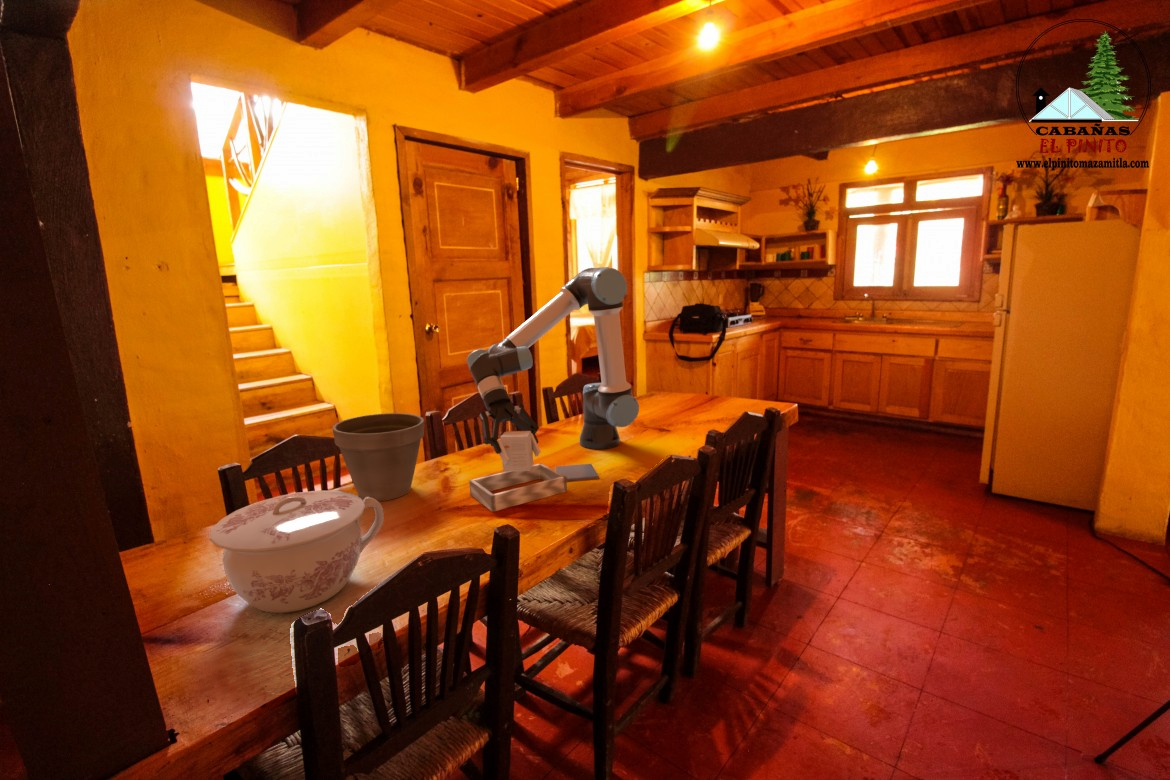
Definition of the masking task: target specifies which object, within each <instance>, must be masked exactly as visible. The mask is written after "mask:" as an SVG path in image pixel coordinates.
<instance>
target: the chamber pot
mask: <svg viewBox="0 0 1170 780" xmlns="http://www.w3.org/2000/svg"><path fill="white" fill-rule="evenodd" d="M367 508H373V511H374V515H375V516H374V521H373V523H372V525H371V526H370V528H369V530H368V531H367V532H366V533H365V534H364V535H363V536H362V532H361V531H362V530H361V527H360V524H361V516H363V514H364V512H365V509H367ZM384 518H385V513H384V508H383V505H382V504H381V503H380V501H377V500H375V499H374V498H371V497H365V498H364V499H362V498H360V497H359V495H355V494H353V493H351V492H346V491H340V490H311V491H302V492H301V491H300V492H293V493H288V494H283V495H277V496H274V497H271V498H266V499H264V500H260V501H257V502H256V501H255V502H254V503H252V504H251V503H250V505H249V504H248V505H245V506H244V507H241V508H239V509H236V510H235V511H232V512H231V513H229V514H228V515H226V516H224V517H222V518H221V519H220V520H219V521H218V522H217V523H216V524H214V526H213V527H212V528H211V529H210V531H209V532H210V533H209V539H208V540H209V541H210V542H211V543H213V545H214V546H215V547H217V548H219V549H223V554H222V563H223V564H222V565H223V569H224V574H225V576H226V578H227V580H228V583H229V584H230V587H231V589H232V590H233V591H234V592H235V594H237V595H238V596H239V597H240V598H241V599H243V600H244V601H245V602H246V603H247V604H248V605H250V606H251V607H252V608H254V609H257V610H259V611H263V612H266V613H270V614H271V613H272V614H273V613H275V614H276V613H277V614H285V613H286V614H287V613H292V612H298V611H302V610H305V609H309V608H312V607H315V606H317V605H319V604H321V603H324V602H326V601H327V600H329V599H330V598H332V597H334V596H335V595H336V594H338V593H340V591H341V590H342V589H343V588H344V587H345V586H346V585H347V583H348V582H349V581H350V578H351V576H352V574H353V573H354V571H355V569H356V567H357V565H358V562H359V560H360V556H361V553H362V552H363V551H364V549H365V548H366V546H367V545H368V544H369V543H370V542H371V541H372V540H373V539H374V538H375V537H376V536H377V534H378V532H379V531H380V530H381V528H382V526H383V524H384Z"/></svg>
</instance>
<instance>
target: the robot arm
mask: <svg viewBox="0 0 1170 780" xmlns="http://www.w3.org/2000/svg"><path fill="white" fill-rule="evenodd" d="M627 292H628V284H627V279H626V277H625V276H624V274H623V273H622V272H620V270H618V269H617V268H613V267H608V266H603V267H589V268H586V269H584V270H582V271H579V272H578V273H577V274H576V275H575V276H573V277H572V278H571V279H570V280H569V281H568V282H566V284H564V285H563V286H562V287H560V291H559V293H558V294H556V296H554V297H553V298H552V299H550V300H549V301H548V302H547V303H546V304H545V305H544V306H542V307H541V308H540V309H539V310H538V311H536V312H535V313H534V314H533V315H532V316H531V317H529V318H527V320H525V322H523V323H522V324H521V325H520V326H518V327H517V328H516V329H514V331H512V332H511V333H510V334H509V335H508V336H506V337H505V338H504V339H502V340H501V341H500V342H499V343H495V344H492V345H491V346H490V347H489V348H488V349H486V348H485V349H484V348H483V349H482V348H478V349H475V350H473V351H472V352H471V353H469V354H468V356H467V358H466V364H467V366H468V369H469V372H470V374H471V376H472V378H473V381H474V383H475V385H476V387H477V390H478V392H479V395H480V397H481V399H482V401H483V404H484V407H485V408H486V410H487V411H485V410H482V411H481V412H480V414H479V415H478V416H479V419H480V421H481V425H482V434H483V440H484V441H483V442H484V444H485V445H490V447H492V448H493V449H494V451H495V453H496V454H497V455H498V454H499V456H500V459H501V460H502V461H503V462H502V464H503V463H504V465H505V464H507V462H508V460H509V458H508V456H507V453H506V451H505V449H504V447H503V444H502V442H501V439H498V437H499V430H500V424H501V423H504V422H510V423H511V424H514V425H515V426H517V428H518V429H520V431H531V438H532V451H533V455H534V456H535V457H539V455H540V453H541V449H540V447H539V445H538V444H539V439H538V437H537V435H536V434H537V432H538V431H539V429H540V427H539V426H538V424H537V423H536V422H535V421H534V419H533V418H532V416H531V415H530V414H529V413H528V412H527V410H526V409H525V406H524V404H523V403H519V405H514V404H513V403H512V401H511V397H510V396H509V394H508V391H507V390H506V387H505V385H504V382H503V381H502V379H501V378H502V377H505V376H509V375H513V374H517V373H519V372H524V371H526V370H529V369H531V368H532V367H533V365H534V364H533V355H532V353H531V351H530V349H529V348H530V347H531V346H533V345H534V344H536V342H538V340H540V339H541V338H543V336H544V335H547V333H548V332H549V331H551V330H552V329H553V328H554V327H555V326H556V325H558V324H559V323H560V322H561V321H562V320H563V319H565V318H566V317H567V316H569V315H570V314H571V313H573V311H580V309H582V308H583V307H584V306H586V305H587V308H588V312H589V313H590V314H591V315H593V321H594V329H595V337H596V345H597V354H598V363H599V372H600V380H601V382H592V383H587V384H585V385H584V386H583V390H582V398H583V399H582V402H583V404H582V405H583V425H582V428H581V432H580V435H579V445H580V446H581V447H583V448H586V449H590V450H591V449H594V450H605V449H606V450H607V449H611V448H615V447H618V446H619V445H620V444H621V441H620V439H621V438H620V434H619V430H618V428H625V427H627V426H630V425H632V424H633V422H635V420H636V419H637V418H638V415H639V412H640V405H639V402H638V400H637V399H636V397H634V396H633V389H632V385H631V383H629V382H628V381H627V375H626V368H625V367H626V366H625V357H624V356H625V355H624V347H623V336H622V326H621V317H620V312H621V310H622V309H623V308H624V301H623V300H624V299H625V297H626V296H627ZM489 417H490V418H492V419H493V428H492V435H491V430H490V423H489V422H490V421H489ZM617 427H618V428H617Z"/></svg>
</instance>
